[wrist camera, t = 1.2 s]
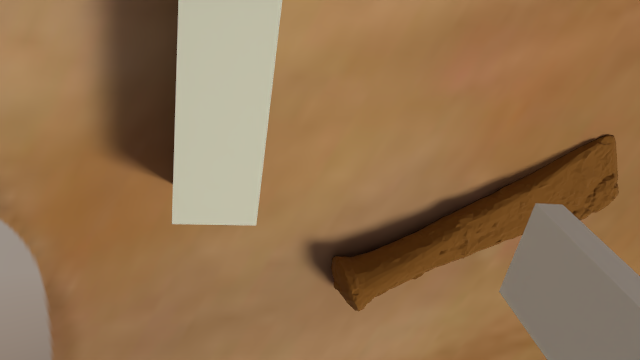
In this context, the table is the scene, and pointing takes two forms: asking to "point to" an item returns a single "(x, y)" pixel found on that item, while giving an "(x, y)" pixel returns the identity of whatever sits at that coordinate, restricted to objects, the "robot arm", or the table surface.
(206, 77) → the strip
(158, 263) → the table surface
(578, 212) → the primitive tool
